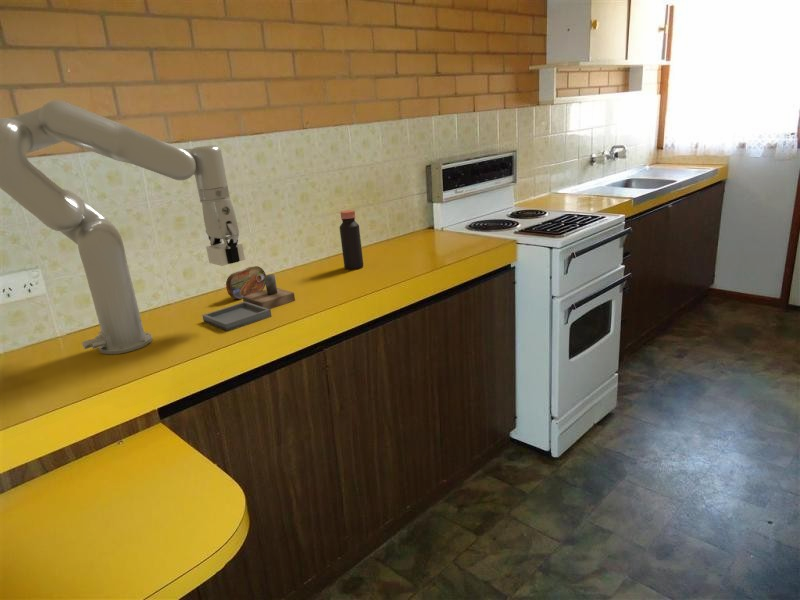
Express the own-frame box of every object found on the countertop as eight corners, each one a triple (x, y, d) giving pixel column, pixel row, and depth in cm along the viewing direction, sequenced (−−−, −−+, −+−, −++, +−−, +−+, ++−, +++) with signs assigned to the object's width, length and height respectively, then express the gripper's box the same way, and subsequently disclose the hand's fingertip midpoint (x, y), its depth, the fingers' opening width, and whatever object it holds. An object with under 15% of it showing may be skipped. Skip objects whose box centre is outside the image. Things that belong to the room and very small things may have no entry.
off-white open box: (245, 259, 154) (242, 243, 153) (221, 265, 150) (218, 249, 149) (232, 257, 159) (229, 241, 158) (209, 262, 155) (206, 246, 153)
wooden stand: (263, 311, 164) (258, 284, 162) (243, 304, 172) (239, 279, 170) (295, 300, 172) (291, 274, 169) (275, 294, 179) (271, 270, 177)
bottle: (352, 271, 199) (345, 213, 193) (340, 268, 204) (333, 212, 198) (367, 266, 203) (361, 210, 197) (356, 264, 208) (349, 209, 202)
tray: (227, 331, 150) (225, 324, 150) (203, 321, 160) (202, 315, 159) (271, 316, 159) (270, 309, 159) (246, 307, 169) (245, 301, 168)
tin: (234, 302, 176) (229, 276, 173) (227, 301, 177) (222, 275, 175) (268, 288, 187) (264, 263, 185) (261, 287, 189) (257, 262, 187)
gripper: (243, 193, 145) (255, 261, 151) (211, 191, 158) (224, 254, 163) (216, 198, 141) (230, 268, 146) (186, 196, 153) (199, 260, 158)
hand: (226, 260), depth 155 cm, fingers closed on off-white open box, 6 cm apart
